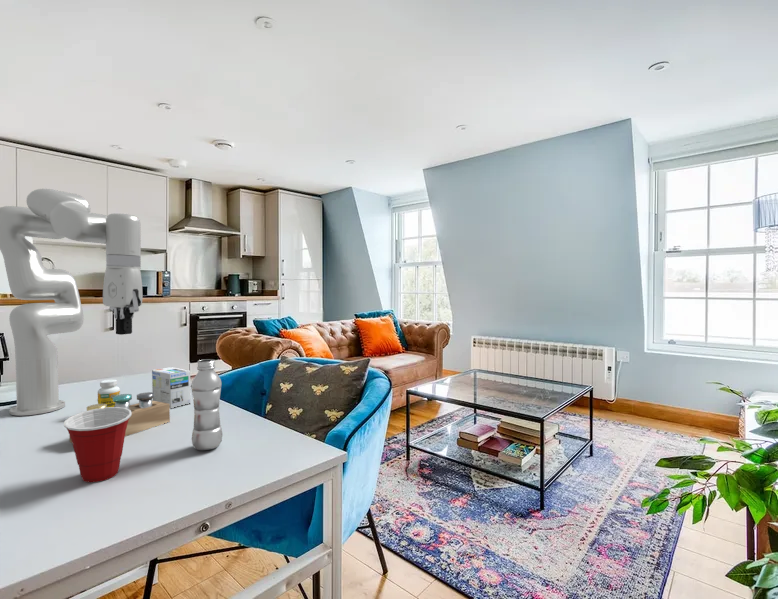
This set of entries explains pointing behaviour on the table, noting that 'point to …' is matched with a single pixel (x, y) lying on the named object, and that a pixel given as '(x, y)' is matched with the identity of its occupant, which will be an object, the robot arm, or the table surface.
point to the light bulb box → (171, 386)
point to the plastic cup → (98, 441)
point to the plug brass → (96, 406)
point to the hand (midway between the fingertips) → (124, 333)
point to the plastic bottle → (206, 406)
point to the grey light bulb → (145, 399)
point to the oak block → (146, 417)
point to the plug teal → (122, 400)
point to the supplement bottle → (108, 392)
